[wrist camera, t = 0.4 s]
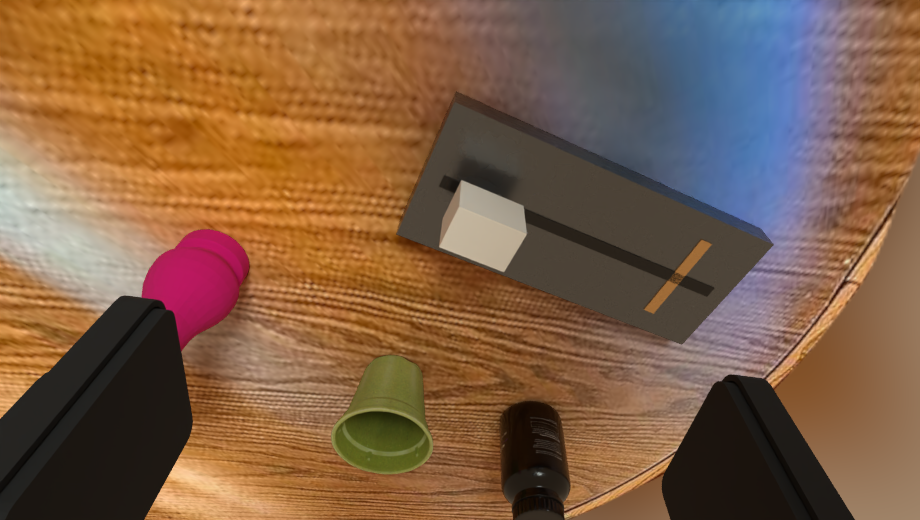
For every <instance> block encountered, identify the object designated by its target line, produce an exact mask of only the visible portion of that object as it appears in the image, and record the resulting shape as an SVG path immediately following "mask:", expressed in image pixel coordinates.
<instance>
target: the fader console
mask: <svg viewBox="0 0 920 520" xmlns="http://www.w3.org/2000/svg"><path fill="white" fill-rule="evenodd" d="M461 180H463V181H465V182H468V183H470V184H472V185H475V186H477V187H480V188H482V189H484V190H487V191H489V192H492V193H494V194H496V195H499V196H501V197H504V198H506V199H508V200H511V201H513V202H516V203H518V204H520V205H523V206H524V214H525V222H526V230H527V235H526V237H525V238H524V240H523V242H522V243H521V245H520V247H519V248H518V250H517V251H516V253H515V255H514V256H513V258H512V260H511V261H510V263H509V265H508V266H507V268H506V270H505V271H504V272H502V271H499V270H497V269H494V268H492V267H489V266H486V265H484V264H481V263H479V262H476V261H473V260H471V259H468V258H466V257H463V256H461V255H458V254H455V253H453V252H450V251H448V250H445V249H443V248H440V247H439V243H440V235H441V228H442V220H443V217H444V215H445V213H446V211H447V209H448V206H449V204H450V202H451V200H452V198H453V196H454V194H455V192H456V190H457V188H458V186H459V184H460V182H461ZM397 235H399V236H402V237H405V238H407V239H410V240H412V241H415V242H418V243H420V244H423V245H425V246H428V247H431V248H433V249H436V250H438V251H441V252H444V253H446V254H449V255H451V256H454V257H457V258H459V259H462V260H464V261H467V262H469V263H472V264H475V265H477V266H480V267H482V268H485V269H488V270H490V271H493V272H495V273H498V274H501V275H503V276H506V277H508V278H511V279H514V280H516V281H519V282H521V283H524V284H526V285H529V286H532V287H534V288H537V289H539V290H542V291H545V292H547V293H550V294H552V295H555V296H558V297H560V298H563V299H565V300H568V301H571V302H573V303H576V304H578V305H581V306H583V307H586V308H589V309H591V310H594V311H596V312H599V313H602V314H604V315H607V316H609V317H612V318H615V319H617V320H620V321H622V322H625V323H628V324H630V325H633V326H635V327H638V328H640V329H643V330H646V331H648V332H651V333H653V334H656V335H659V336H661V337H664V338H666V339H669V340H672V341H674V342H677V343H679V344H683V343H684V342H685V341H686V339H687V338H688V337H689V336H690V335H691V334H692V333H693V332H694V331H695V330H696V329H697V328H698V326H699V325H700V324H701V323H702V322H703V321H704V320H705V319H706V318H707V317H708V316H709V314H710V313H711V312H712V311H713V310H714V309H715V308H716V307H717V306H718V305H719V304H720V303H721V301H722V300H723V299H724V298H725V297H726V296H727V295H728V294H729V293H730V292H731V291H732V289H733V288H734V287H735V286H736V285H737V284H738V283H739V282H740V281H741V280H742V279H743V278H744V276H745V275H746V274H747V273H748V272H749V271H750V270H751V269H752V268H753V267H754V266H755V264H756V263H757V262H758V261H759V260H760V259H761V258H762V257H763V256H764V255H765V254H766V253H767V251H768V250H769V249H770V248H771V247H772V246H773V245H774V244H773V243H772V242H771V241H770V239H769V238H768V237H767V236H766V235H765V233H764V232H763V231H762V230H761V229H760V228H758V227H756V226H753V225H751V224H749V223H747V222H745V221H742V220H740V219H738V218H736V217H734V216H731V215H729V214H727V213H725V212H722V211H720V210H718V209H716V208H714V207H711V206H709V205H707V204H705V203H703V202H700V201H698V200H696V199H694V198H691V197H689V196H687V195H685V194H683V193H680V192H678V191H676V190H674V189H671V188H669V187H667V186H665V185H663V184H660V183H658V182H656V181H654V180H652V179H649V178H647V177H645V176H643V175H640V174H638V173H636V172H634V171H632V170H629V169H627V168H625V167H623V166H620V165H618V164H616V163H614V162H612V161H609V160H607V159H605V158H603V157H601V156H598V155H596V154H594V153H592V152H589V151H587V150H585V149H583V148H581V147H578V146H576V145H574V144H572V143H569V142H567V141H565V140H563V139H561V138H558V137H556V136H554V135H552V134H550V133H547V132H545V131H543V130H541V129H538V128H536V127H534V126H532V125H530V124H527V123H525V122H523V121H521V120H519V119H516V118H514V117H512V116H510V115H507V114H505V113H503V112H501V111H499V110H496V109H494V108H492V107H490V106H487V105H485V104H483V103H481V102H479V101H476V100H474V99H472V98H470V97H468V96H465V95H463V94H461V93H459V92H456V93H455V95H454V97H453V99H452V102H451V104H450V106H449V109H448V111H447V113H446V115H445V118H444V120H443V122H442V125H441V127H440V129H439V132H438V134H437V136H436V138H435V141H434V143H433V145H432V148H431V150H430V152H429V155H428V157H427V159H426V161H425V164H424V166H423V168H422V171H421V173H420V175H419V177H418V180H417V182H416V184H415V187H414V189H413V191H412V194H411V196H410V198H409V200H408V203H407V205H406V207H405V210H404V212H403V214H402V216H401V219H400V222H399V226H398V230H397Z"/></svg>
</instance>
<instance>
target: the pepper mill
mask: <svg viewBox="0 0 920 520" xmlns="http://www.w3.org/2000/svg"><path fill="white" fill-rule="evenodd" d="M248 270H249V261H248V257H247V255H246V253H245V251H244V249H243V248H242V247H241V246H240V245H239V244H238V242H237V241H236V240H234V239H233V238H231V237H230V236H228V235H226V234H224V233H221V232H219V231H214V230H210V229H206V230H197V231H193V232H191V233H189V234H188V235H186V236H185V237H184V238H183V239H182V240H181V241H180V243H179V244H178V245H177V246H176V248H175V249H172V250H169V251H167V252H165V253H163V254H162V255H161V256H159V257H158V258H157V259H156V261H155V262H154V263H153V265H152V266H151V267H150V269H149V271H148V273H147V275H146V278H145V280H144V283H143V289H142V298H148V299H156V300H160V301H162V302H163V303H164V305H165V308H166V310H171V311H173V313H174V315H175V319H176V324H177V330H178V336H179V342H180V348H181V351H182V350H183V348H184V347H185V346H186V345H187V343H188V342H189V341H190V340H191V339H192V338H194V337H195V336H196V335H197V334H199V333H201V332H203V331H205V330H207V329H209V328H211V327H212V326H214V325H216V324H218V323H219V322H220V321H221V320H223V319H224V318H225V317H226V316H227V315H228V314H229V313H230V311H231V310H232V309H233V308H234V306H235V304H236V302H237V300H238V296H239V287H240V285H241V284H242V282H243V280H244V279H245V277H246V275H247V274H248Z"/></svg>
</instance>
